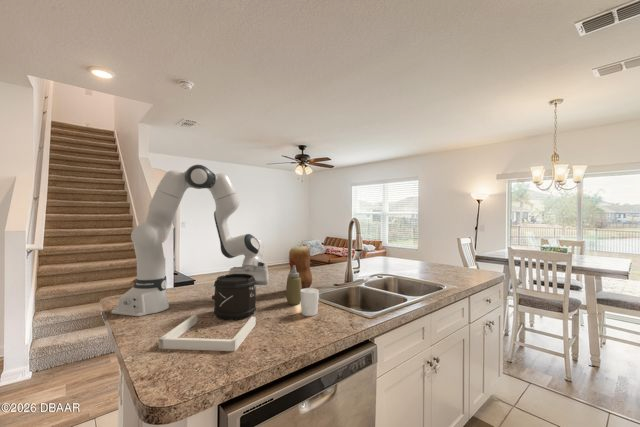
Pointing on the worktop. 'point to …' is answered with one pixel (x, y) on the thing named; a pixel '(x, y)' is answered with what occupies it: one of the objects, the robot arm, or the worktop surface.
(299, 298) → the squeeze bottle
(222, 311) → the black short wide cylinder
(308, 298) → the white cup
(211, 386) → the worktop surface
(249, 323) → the bay
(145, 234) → the robot arm
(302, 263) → the butternut squash
